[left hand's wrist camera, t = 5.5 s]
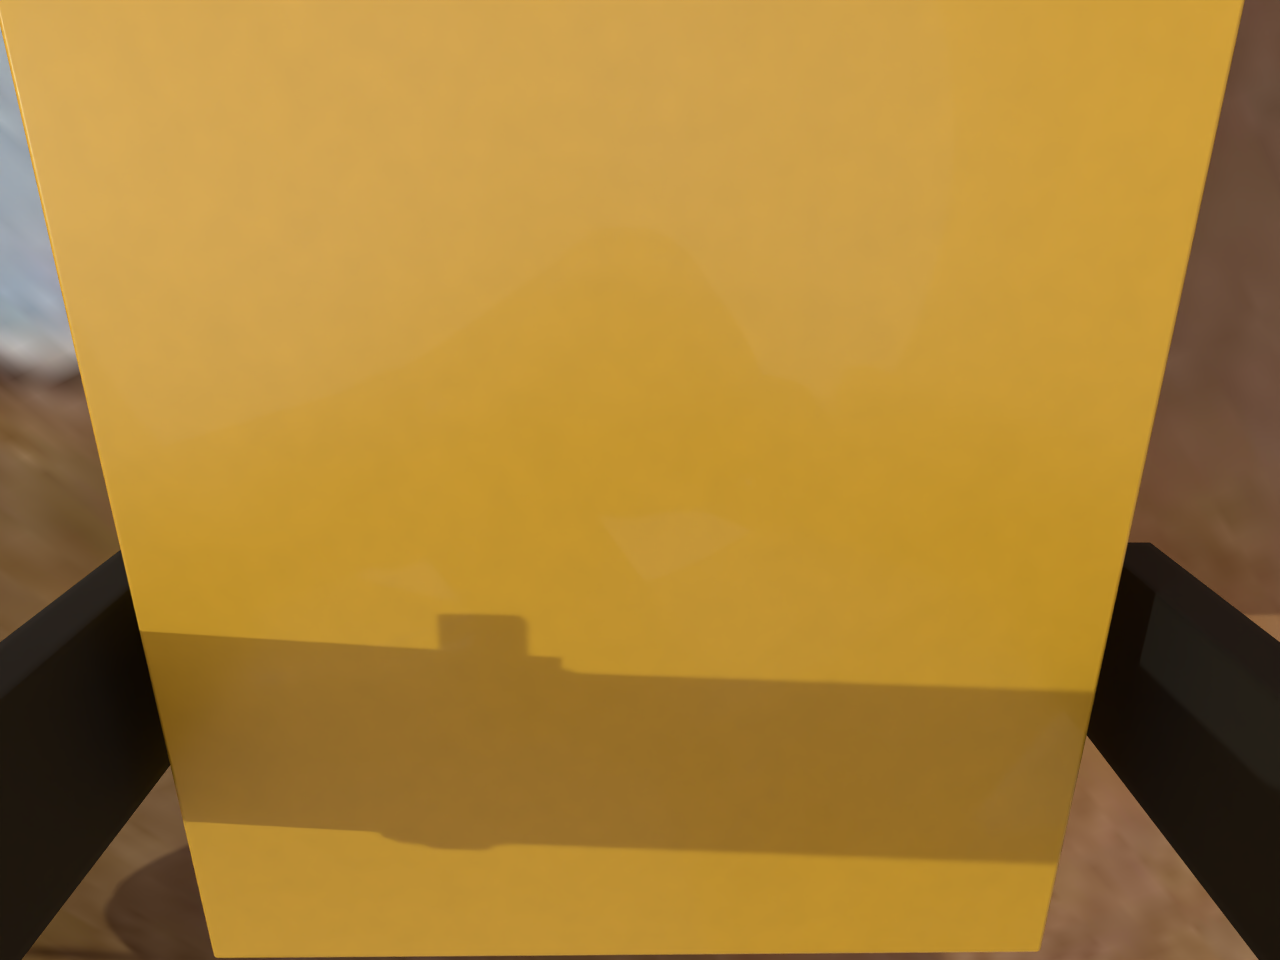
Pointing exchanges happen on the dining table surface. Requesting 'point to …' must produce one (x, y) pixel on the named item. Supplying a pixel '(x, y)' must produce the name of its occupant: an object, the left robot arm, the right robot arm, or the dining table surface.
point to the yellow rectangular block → (622, 444)
